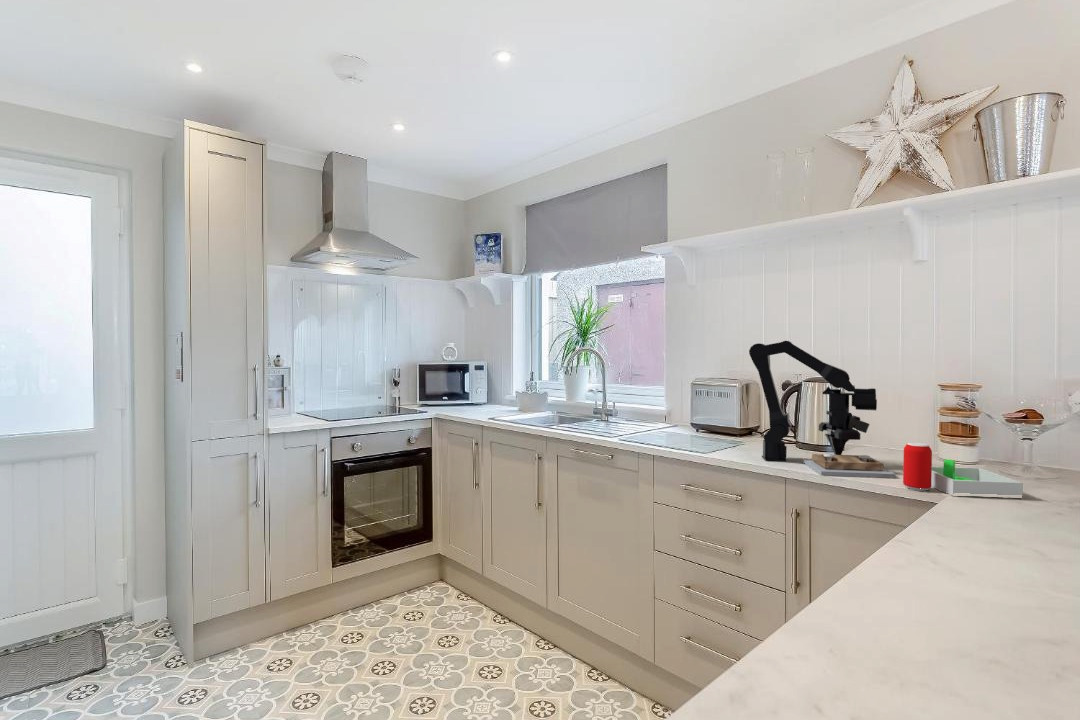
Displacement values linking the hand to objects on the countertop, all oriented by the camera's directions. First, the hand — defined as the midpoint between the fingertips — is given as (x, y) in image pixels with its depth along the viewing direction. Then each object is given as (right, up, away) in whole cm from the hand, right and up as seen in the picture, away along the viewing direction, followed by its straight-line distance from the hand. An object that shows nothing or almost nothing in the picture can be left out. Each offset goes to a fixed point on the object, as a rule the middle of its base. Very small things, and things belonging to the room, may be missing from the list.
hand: (838, 457), depth 176 cm
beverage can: (+5, -3, -29) cm, 30 cm away
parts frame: (+18, -3, -29) cm, 35 cm away
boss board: (-1, -3, -7) cm, 7 cm away
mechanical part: (+17, -4, -28) cm, 33 cm away
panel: (-1, -1, -7) cm, 7 cm away
